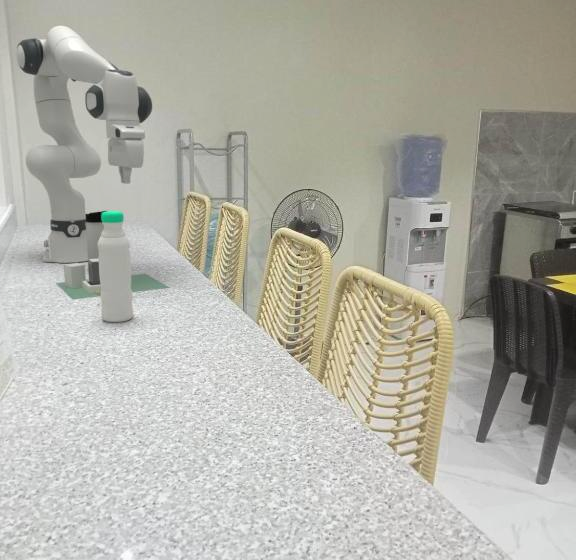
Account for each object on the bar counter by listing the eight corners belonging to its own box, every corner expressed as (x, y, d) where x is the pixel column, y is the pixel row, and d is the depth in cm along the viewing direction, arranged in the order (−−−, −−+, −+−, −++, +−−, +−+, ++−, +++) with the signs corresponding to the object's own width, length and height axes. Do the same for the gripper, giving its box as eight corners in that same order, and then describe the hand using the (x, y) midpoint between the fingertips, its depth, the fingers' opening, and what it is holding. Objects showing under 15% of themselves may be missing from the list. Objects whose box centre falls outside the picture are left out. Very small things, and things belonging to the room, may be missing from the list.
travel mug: (104, 277, 173) (101, 212, 169) (85, 276, 174) (80, 211, 170) (114, 273, 179) (111, 209, 175) (95, 272, 180) (92, 209, 176)
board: (56, 287, 161) (55, 276, 160) (145, 277, 175) (145, 267, 174) (72, 303, 144) (72, 291, 144) (170, 291, 158) (169, 280, 158)
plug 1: (63, 285, 158) (62, 264, 157) (77, 283, 161) (75, 262, 160) (72, 288, 155) (70, 266, 153) (86, 286, 158) (84, 264, 156)
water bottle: (139, 316, 135) (134, 211, 129) (121, 324, 129) (116, 214, 123) (114, 313, 137) (108, 209, 132) (95, 321, 131) (88, 212, 125)
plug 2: (88, 288, 156) (87, 258, 154) (107, 285, 158) (105, 257, 156) (93, 291, 152) (91, 261, 150) (112, 289, 154) (110, 260, 152)
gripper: (101, 132, 162) (103, 181, 165) (123, 131, 145) (125, 185, 149) (123, 132, 165) (125, 181, 169) (147, 132, 149) (149, 185, 152)
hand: (125, 183), depth 158 cm, fingers closed
